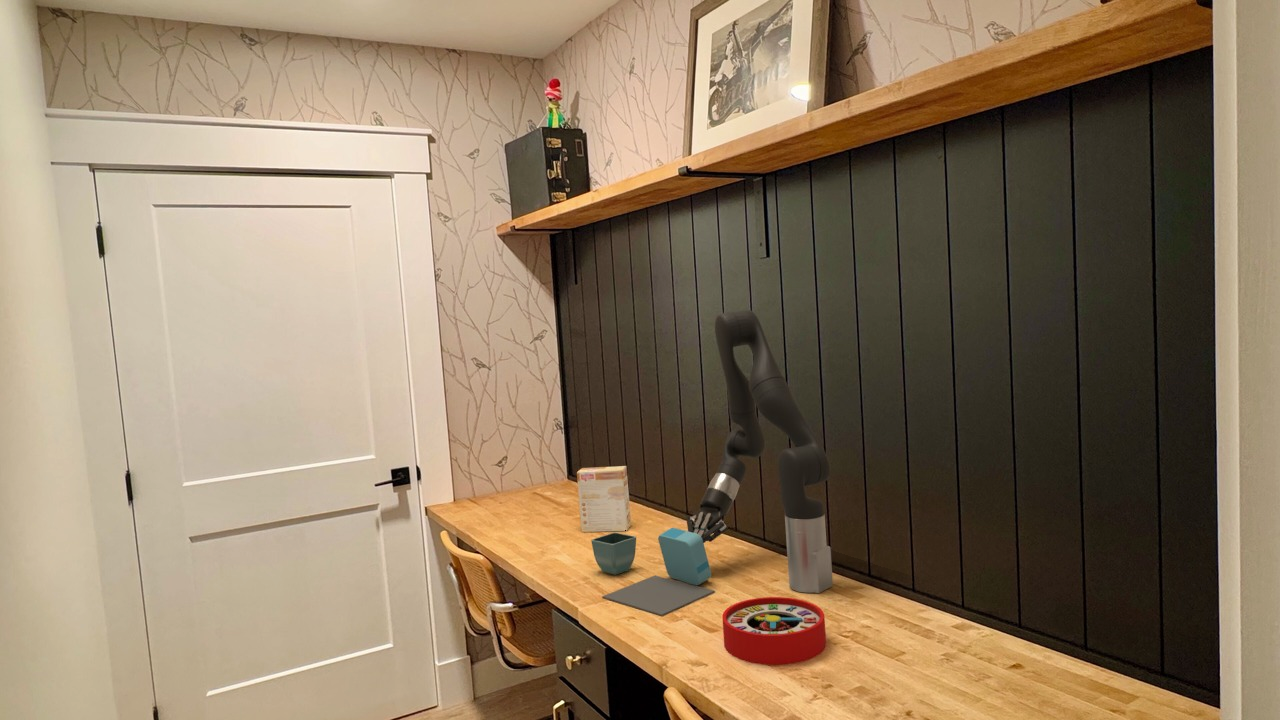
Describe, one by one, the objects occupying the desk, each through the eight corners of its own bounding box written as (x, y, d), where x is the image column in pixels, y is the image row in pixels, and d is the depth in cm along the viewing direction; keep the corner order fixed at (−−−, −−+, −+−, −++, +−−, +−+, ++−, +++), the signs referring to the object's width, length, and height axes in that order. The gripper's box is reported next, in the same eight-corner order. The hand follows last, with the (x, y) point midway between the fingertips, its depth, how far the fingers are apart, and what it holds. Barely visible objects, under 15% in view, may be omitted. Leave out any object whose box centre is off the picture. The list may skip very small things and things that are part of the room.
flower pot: (617, 564, 214) (614, 531, 214) (639, 569, 208) (637, 536, 208) (592, 573, 208) (590, 539, 208) (615, 579, 202) (612, 544, 201)
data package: (713, 578, 194) (701, 534, 192) (700, 587, 191) (688, 542, 189) (680, 568, 203) (669, 526, 201) (667, 577, 200) (656, 534, 198)
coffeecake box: (631, 525, 253) (627, 465, 252) (627, 531, 246) (622, 469, 245) (586, 526, 256) (581, 467, 255) (581, 532, 249) (576, 471, 248)
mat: (714, 592, 187) (714, 590, 187) (662, 616, 174) (662, 614, 174) (655, 576, 201) (654, 575, 201) (602, 598, 189) (602, 596, 189)
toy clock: (725, 597, 168) (821, 596, 164) (727, 624, 168) (823, 623, 165) (718, 635, 148) (827, 635, 145) (720, 666, 148) (829, 666, 145)
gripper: (693, 484, 209) (665, 541, 201) (732, 489, 199) (704, 549, 191) (708, 499, 212) (680, 556, 205) (747, 505, 203) (719, 565, 195)
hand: (692, 553), depth 198 cm, fingers closed
